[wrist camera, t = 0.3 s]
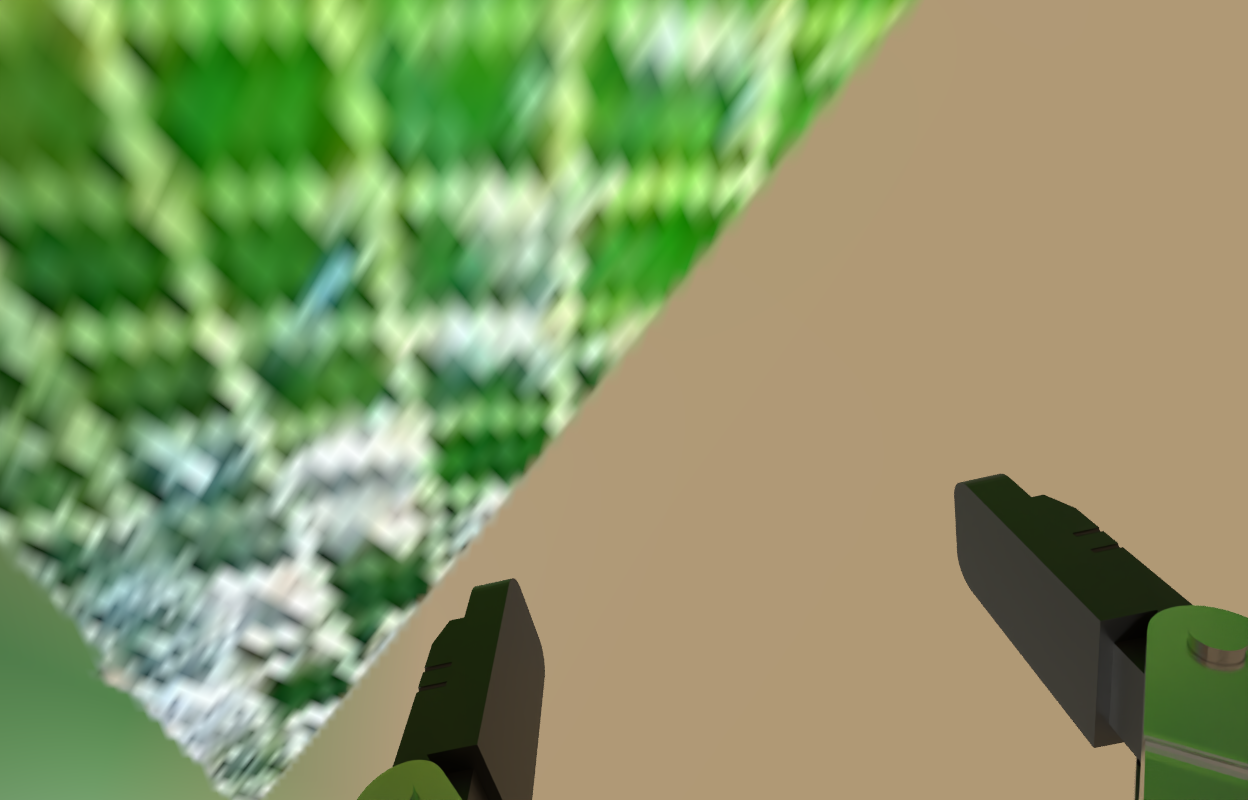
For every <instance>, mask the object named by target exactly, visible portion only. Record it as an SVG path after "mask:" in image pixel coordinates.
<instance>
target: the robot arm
mask: <svg viewBox="0 0 1248 800" xmlns="http://www.w3.org/2000/svg"><path fill="white" fill-rule="evenodd" d="M954 499H955V517H956V536H957V554H958V560H959V565H960V568H961V571H962V574H963V576H964V578H965V581H966V583H967V584H968V586H969V588H970V589H971V591H972V592H973V593H974V595H975V596H976V597H977V598H978V600H979V601H980V602H981V604H982V605H983V606H984V607H985V609H986V610H987V611H988V613H989V614H990V615H991V616H992V618H993V619H994V620H995V622H996V623H997V624H998V625H999V627H1000V628H1001V629H1002V631H1003V632H1004V633H1005V634H1006V636H1007V637H1008V638H1009V640H1010V641H1011V642H1012V643H1013V645H1014V646H1015V647H1016V648H1017V650H1018V651H1019V652H1020V654H1021V655H1022V656H1023V657H1024V659H1025V660H1026V661H1027V663H1028V664H1029V665H1030V666H1031V668H1032V669H1033V670H1034V672H1035V673H1036V674H1037V675H1038V677H1039V678H1040V679H1041V681H1042V682H1043V683H1044V684H1045V686H1046V687H1047V688H1048V690H1049V691H1050V692H1051V693H1052V695H1053V696H1054V697H1055V699H1056V700H1057V701H1058V702H1059V704H1060V705H1061V706H1062V708H1063V709H1064V710H1065V711H1066V713H1067V714H1068V715H1069V716H1070V718H1071V719H1072V720H1073V722H1074V723H1075V724H1076V726H1077V727H1078V728H1079V729H1080V731H1081V732H1082V733H1083V735H1084V736H1085V737H1086V738H1087V740H1088V741H1089V742H1090V744H1091V745H1092V746H1093V747H1094V748H1096V747H1101V746H1107V745H1112V744H1117V743H1122V742H1125V744H1126V745H1127V746H1128V747H1129V748H1130V750H1131V751H1132V752H1133V753H1134V755H1135V756H1136V767H1135V784H1134V785H1135V786H1134V800H1248V618H1247V617H1244V616H1242V615H1239V614H1236V613H1233V612H1230V611H1226V610H1223V609H1218V608H1214V607H1206V606H1194V605H1192V604H1191V603H1190V602H1188V601H1187V600H1186V599H1185V598H1183V597H1182V596H1181V595H1180V594H1179V593H1177V592H1176V591H1175V590H1174V589H1173V588H1171V587H1170V586H1169V585H1168V584H1167V583H1165V582H1164V581H1163V580H1162V579H1161V578H1159V577H1158V576H1157V575H1156V574H1155V573H1153V572H1152V571H1151V570H1150V569H1148V568H1147V567H1146V566H1145V565H1144V564H1142V563H1141V562H1140V561H1139V560H1138V559H1136V558H1135V557H1134V556H1133V555H1132V554H1130V553H1129V552H1128V551H1127V550H1125V549H1124V548H1123V547H1122V548H1120V547H1119V546H1118V543H1117V542H1116V541H1115V540H1113V539H1112V538H1111V537H1110V536H1109V535H1107V534H1106V533H1105V532H1104V531H1102V532H1100V530H1099V527H1098V526H1096V525H1095V524H1094V523H1093V522H1092V521H1090V520H1089V519H1088V518H1087V517H1086V516H1084V515H1083V514H1082V513H1081V512H1080V511H1078V510H1077V509H1076V508H1074V507H1071V506H1069V505H1067V504H1064V503H1062V502H1060V501H1057V500H1055V499H1053V498H1050V497H1048V496H1046V495H1040V496H1035V497H1030V496H1029V495H1028V494H1027V493H1026V492H1025V491H1024V490H1023V489H1022V488H1020V487H1019V486H1018V485H1017V484H1016V483H1015V482H1014V481H1013V480H1011V479H1010V478H1009V477H1008V476H1006V475H1005V474H997V475H993V476H988V477H983V478H979V479H974V480H969V481H965V482H961V483H958V484H957V485H956V487H955V491H954ZM544 677H545V666H544V657H543V651H542V646H541V643H540V640H539V637H538V634H537V632H536V629H535V626H534V623H533V621H532V618H531V615H530V613H529V610H528V607H527V605H526V602H525V599H524V596H523V594H522V592H521V589H520V586H519V584H518V582H517V581H516V580H515V579H508V580H503V581H499V582H495V583H489V584H485V585H481V586H476V587H474V588H473V590H472V592H471V596H470V599H469V603H468V607H467V610H466V614H465V617H464V618H460V619H455V620H451V621H449V623H448V624H447V625H446V627H445V628H444V629H443V630H442V632H441V633H440V634H439V636H438V637H437V638H436V640H435V641H434V642H433V644H432V646H431V650H430V653H429V656H428V659H427V662H426V665H425V672H423V675H422V678H421V681H420V684H419V687H418V688H419V692H418V693H416V696H415V699H414V702H413V706H412V709H411V712H410V715H409V718H408V721H407V724H406V727H405V730H404V734H403V737H402V740H401V743H400V746H399V749H398V752H397V755H396V758H395V762H394V765H393V767H392V768H390V769H388V770H387V771H386V772H384V773H382V774H381V775H380V776H378V777H377V778H376V779H375V780H373V781H372V782H371V783H370V784H369V785H368V786H367V787H366V788H365V790H364V791H363V792H362V794H361V795H360V796H359V797H358V799H357V800H532V795H533V785H534V776H535V766H536V755H537V747H538V737H539V727H540V717H541V707H542V697H543V688H544Z"/></svg>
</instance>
